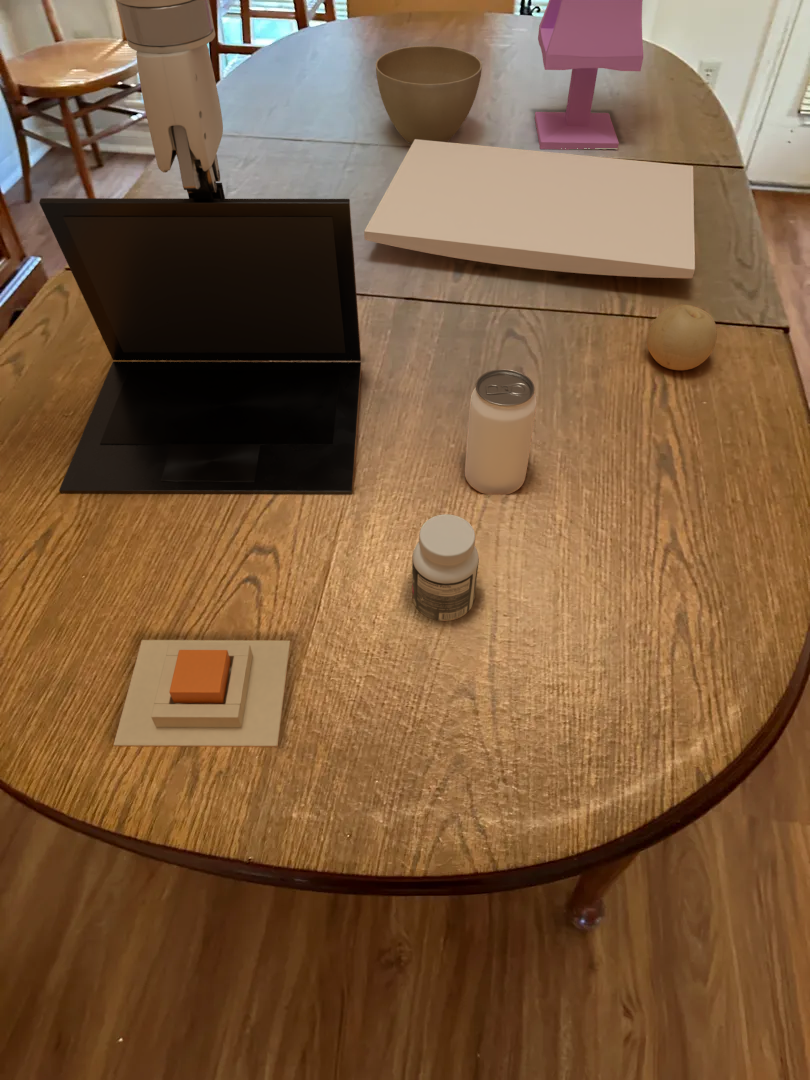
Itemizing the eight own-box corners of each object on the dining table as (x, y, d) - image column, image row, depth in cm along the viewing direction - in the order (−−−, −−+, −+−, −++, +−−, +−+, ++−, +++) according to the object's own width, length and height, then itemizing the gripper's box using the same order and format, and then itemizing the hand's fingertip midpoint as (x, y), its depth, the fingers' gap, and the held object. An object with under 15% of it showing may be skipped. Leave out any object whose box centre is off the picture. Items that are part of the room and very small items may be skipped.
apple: (625, 356, 98) (647, 293, 95) (669, 366, 102) (690, 306, 99) (672, 372, 91) (696, 305, 89) (716, 381, 96) (740, 317, 93)
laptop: (352, 503, 81) (351, 490, 80) (64, 502, 82) (58, 489, 80) (361, 374, 96) (360, 361, 95) (116, 373, 96) (112, 360, 95)
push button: (173, 703, 63) (168, 692, 62) (183, 661, 66) (178, 649, 64) (223, 703, 63) (219, 692, 62) (231, 661, 66) (227, 649, 64)
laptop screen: (349, 203, 75) (349, 198, 76) (38, 203, 76) (40, 197, 76) (360, 361, 95) (361, 356, 95) (112, 361, 95) (113, 356, 95)
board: (365, 262, 113) (364, 231, 110) (414, 167, 134) (414, 139, 130) (685, 301, 107) (694, 269, 103) (685, 195, 127) (693, 166, 124)
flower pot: (357, 136, 143) (353, 62, 133) (429, 110, 151) (430, 38, 141) (424, 169, 134) (426, 91, 125) (497, 139, 142) (504, 64, 133)
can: (528, 498, 82) (543, 408, 73) (466, 498, 82) (473, 408, 73) (521, 456, 86) (534, 365, 77) (462, 456, 86) (469, 366, 77)
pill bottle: (424, 573, 75) (426, 501, 68) (481, 591, 74) (490, 519, 66) (402, 618, 72) (402, 548, 64) (462, 637, 70) (469, 567, 63)
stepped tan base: (118, 753, 63) (106, 734, 61) (145, 649, 70) (136, 628, 67) (279, 754, 63) (274, 735, 61) (292, 649, 70) (288, 628, 67)
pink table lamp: (529, 116, 149) (555, -123, 122) (611, 117, 148) (656, -122, 122) (534, 151, 138) (565, -102, 112) (623, 152, 138) (675, -101, 112)
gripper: (142, -6, 72) (189, 192, 86) (102, 52, 62) (162, 264, 76) (224, -9, 72) (257, 190, 86) (196, 49, 62) (239, 262, 76)
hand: (213, 224), depth 81 cm, fingers closed
